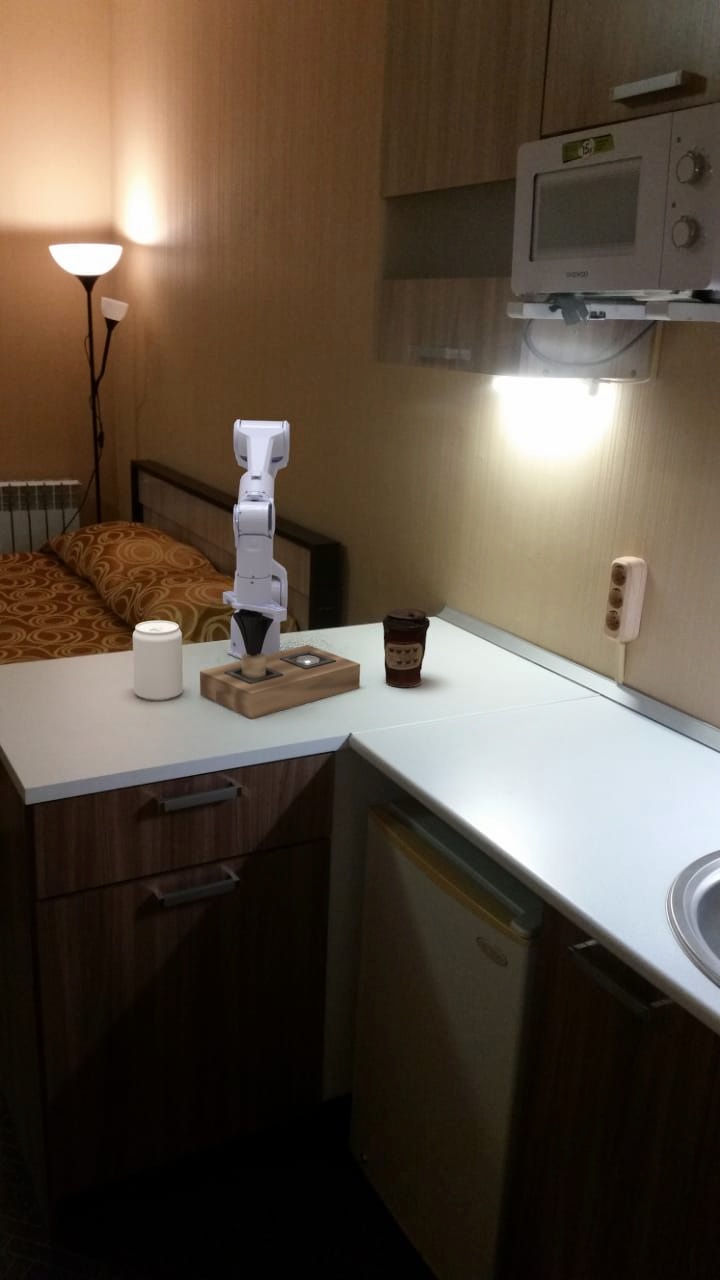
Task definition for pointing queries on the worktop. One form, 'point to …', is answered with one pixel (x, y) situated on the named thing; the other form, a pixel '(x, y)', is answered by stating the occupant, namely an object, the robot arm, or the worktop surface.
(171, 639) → the beverage can
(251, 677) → the maple peg
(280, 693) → the socket block
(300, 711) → the worktop surface
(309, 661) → the metal peg
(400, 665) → the coffee cup
